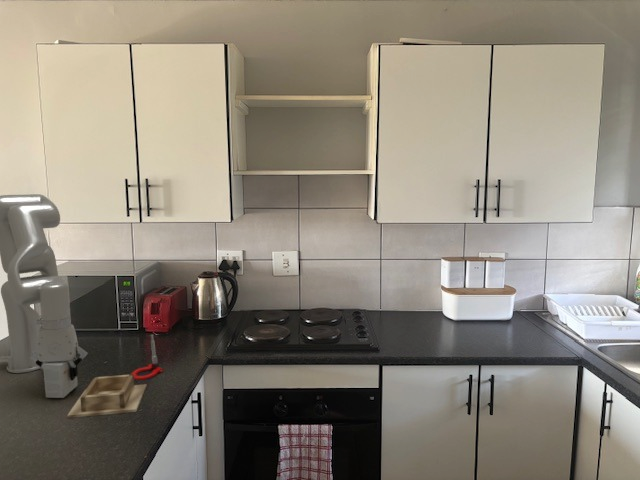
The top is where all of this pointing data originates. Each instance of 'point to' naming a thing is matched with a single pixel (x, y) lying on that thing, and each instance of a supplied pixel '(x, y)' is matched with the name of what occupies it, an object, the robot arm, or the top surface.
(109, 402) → the well
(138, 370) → the tow hook
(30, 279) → the robot arm
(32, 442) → the top surface
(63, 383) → the small box
